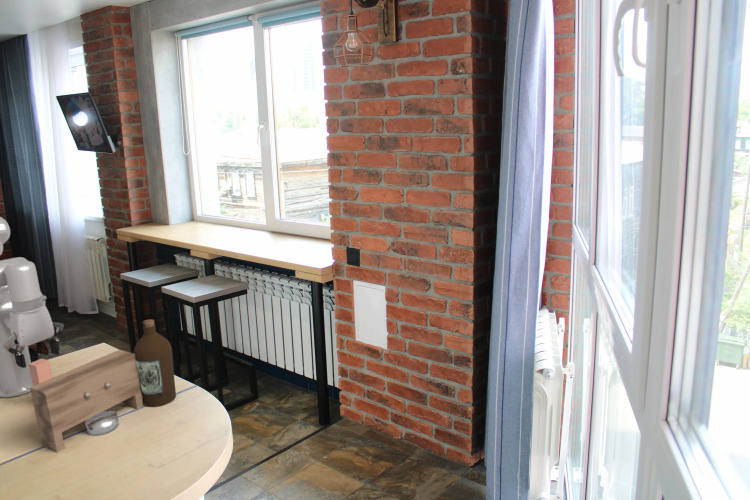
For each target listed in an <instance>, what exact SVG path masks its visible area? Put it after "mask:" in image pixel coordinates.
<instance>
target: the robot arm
mask: <svg viewBox="0 0 750 500" xmlns="http://www.w3.org/2000/svg"><path fill="white" fill-rule="evenodd" d="M10 236H11V228H10V226H9V223H8V221H6V219H4V218H3V217H2V216H0V256H1V255H2V254H3V250H4V244H5V243H6V242H7V241H8V240H9V239H10ZM46 300H47V296H46V295H43V293H42V291H41V288H40V283H39V278H38V271H37V268H36V265H35V263H34V262H32V261H29V260H28V259H26V258H25V257H21V256H19V257H11V258H7V259H3V260H0V398H12V397H18V396H21V395H24V394H27V393H31V390H30V387H33V384H32V379H31V374H30V369H29V365H28V364H29V363H32V362H31V361H32V360H31V355H30V351H29V346H32V345H34V344H37V343H40V342H42V341H46V340H49V344H48V345H49V349H50V353H51V354H52V355H57V356H59V355H60V345H59V341H60V339H61V336H62V334H63V330H64V327H65V324H64V323H61V322H53V321H52V317H51V315H50V312H49V310H48V308H47V306H46ZM55 328H56V330H55Z"/></svg>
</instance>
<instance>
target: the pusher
mask: <svg viewBox="0 0 750 500" xmlns="http://www.w3.org/2000/svg"><path fill="white" fill-rule="evenodd" d="M28 365H29V369H30V374H31V379H32V384H33V386H35V385H37V384H40V383H42V382H44V381H47V380H49V379H51V378H54V376H53V372H52V367H51V361H50V360H48V359H44V358H40V359H37V360H35V361H32V362H31V363H29V364H28Z"/></svg>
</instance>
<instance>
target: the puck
mask: <svg viewBox="0 0 750 500" xmlns="http://www.w3.org/2000/svg"><path fill="white" fill-rule="evenodd" d="M118 417H119V416H118V413H117V412H116V411H114V410H105V411H103V412H101V413H99V414H97V415H95V416H93V417H91V418H89V419H87V420H85V421H84V424H85V427H86V428H85V429H86V433H87V435H89V436H92V437H99V436H104V435H108V434H110V433H112V432H114V431H115V430H117V428H119V426H120V422H119V418H118Z"/></svg>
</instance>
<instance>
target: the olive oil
mask: <svg viewBox="0 0 750 500" xmlns="http://www.w3.org/2000/svg"><path fill="white" fill-rule="evenodd" d="M142 325H143V326H142V330H143V334H142V336H141V338H140V339H139V340H138V341H137V342H136V344H135V346H134V349H133V352H132V353H133V354H135V359H136V364H137V370H138V376H139V383H140V389H141V395H142V402H143V406H146V407H150V408H151V407H152V408H154V407H156V408H157V407H162V406H164V405H168V404H170V403H171V402H173V401H174V400H175V399H176V396H177V392H176V381H175V372H174V359H173V348H172V346H171V343H170V341H169V340H168V339H167V338H166V337H164V336H163V335H161V334H159V333H158V332H157V331H156V329H157V328H156V324H155V320H154V319H145V320H143V321H142Z"/></svg>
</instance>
